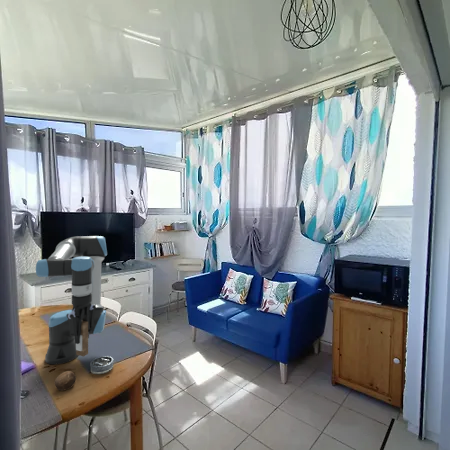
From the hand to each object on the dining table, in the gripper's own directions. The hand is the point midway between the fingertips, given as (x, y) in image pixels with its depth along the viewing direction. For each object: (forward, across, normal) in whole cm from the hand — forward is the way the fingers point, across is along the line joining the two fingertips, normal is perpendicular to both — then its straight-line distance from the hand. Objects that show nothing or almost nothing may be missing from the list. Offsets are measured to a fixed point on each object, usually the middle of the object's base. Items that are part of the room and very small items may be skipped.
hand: (82, 348), depth 118 cm
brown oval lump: (+19, -1, +9) cm, 21 cm away
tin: (+18, +16, +5) cm, 25 cm away
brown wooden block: (+3, 0, 0) cm, 3 cm away
